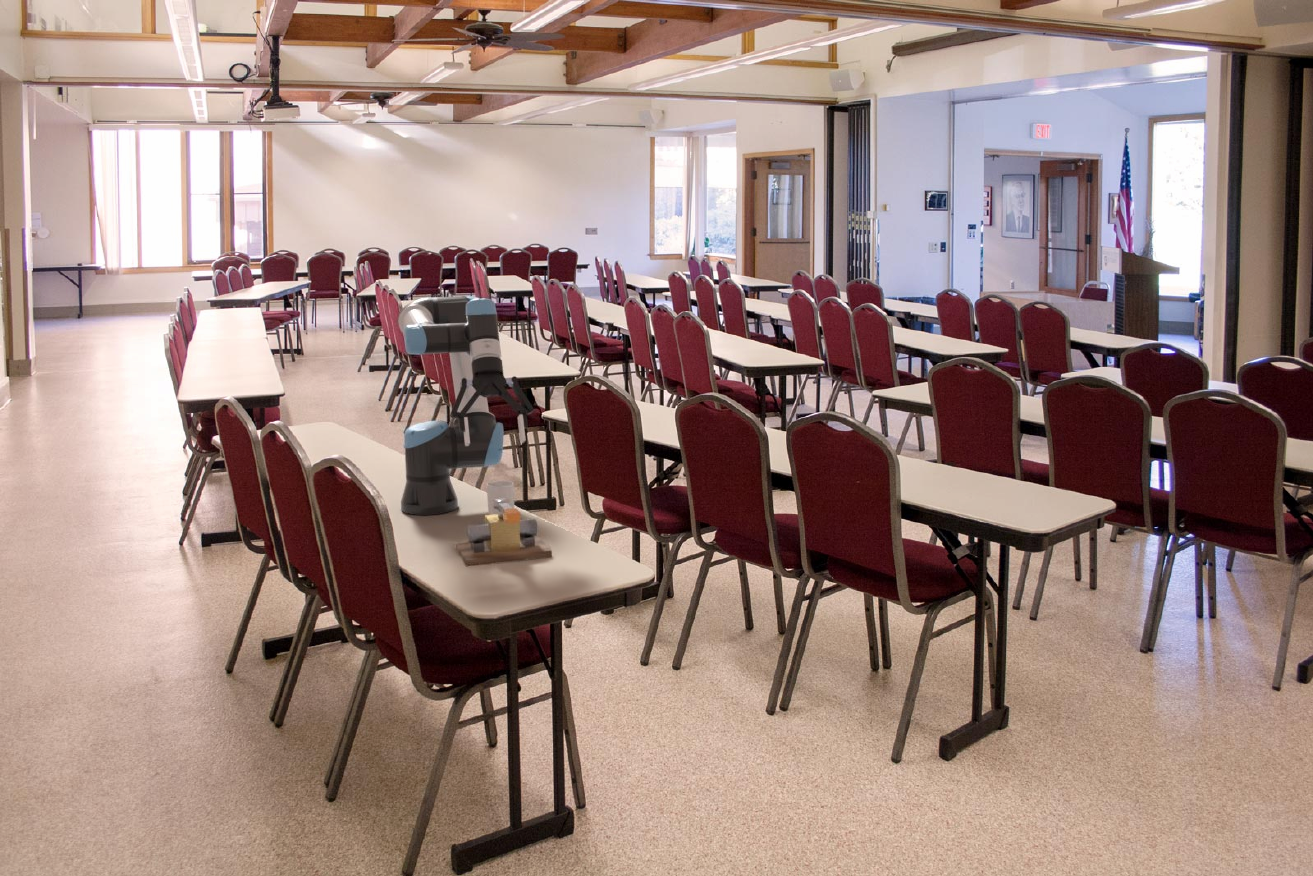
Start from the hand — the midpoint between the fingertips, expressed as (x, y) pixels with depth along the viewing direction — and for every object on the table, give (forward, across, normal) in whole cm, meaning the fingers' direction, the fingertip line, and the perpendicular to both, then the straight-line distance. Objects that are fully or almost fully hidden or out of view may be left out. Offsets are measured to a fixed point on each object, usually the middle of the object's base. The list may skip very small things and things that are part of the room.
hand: (495, 443), depth 273 cm
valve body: (+26, -1, -1) cm, 26 cm away
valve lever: (+20, -1, -10) cm, 22 cm away
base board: (+27, -1, 0) cm, 27 cm away
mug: (+18, +3, +19) cm, 26 cm away
